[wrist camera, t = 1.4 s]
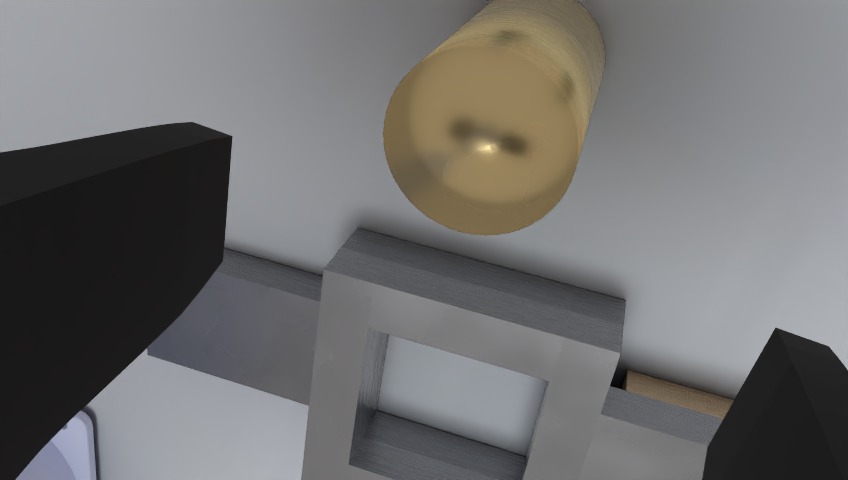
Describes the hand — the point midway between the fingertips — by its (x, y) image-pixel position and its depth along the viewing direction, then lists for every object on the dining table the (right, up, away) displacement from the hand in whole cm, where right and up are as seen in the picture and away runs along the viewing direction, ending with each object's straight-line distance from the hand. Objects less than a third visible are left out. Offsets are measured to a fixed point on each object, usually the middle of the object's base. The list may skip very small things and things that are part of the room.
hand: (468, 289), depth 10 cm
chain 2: (+3, -4, +12) cm, 13 cm away
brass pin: (+2, +5, +8) cm, 9 cm away
